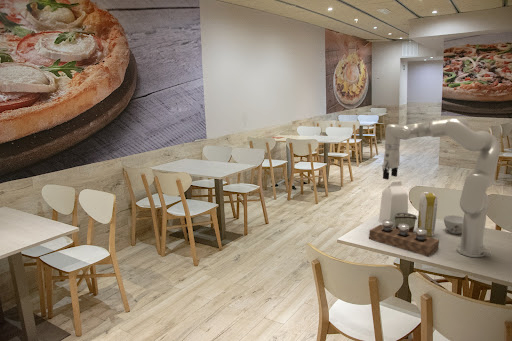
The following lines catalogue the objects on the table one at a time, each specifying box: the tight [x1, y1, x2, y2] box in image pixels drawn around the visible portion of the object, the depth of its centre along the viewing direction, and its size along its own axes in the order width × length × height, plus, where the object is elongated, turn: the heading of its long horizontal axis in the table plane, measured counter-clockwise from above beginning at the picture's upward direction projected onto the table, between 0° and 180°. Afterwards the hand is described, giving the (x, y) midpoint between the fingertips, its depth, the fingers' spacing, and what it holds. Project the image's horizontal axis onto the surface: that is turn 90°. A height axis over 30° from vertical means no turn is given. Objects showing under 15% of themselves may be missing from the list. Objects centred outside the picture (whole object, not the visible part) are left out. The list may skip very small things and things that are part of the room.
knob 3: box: [414, 227, 427, 242], centre depth 203 cm, size 5×5×6 cm
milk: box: [378, 180, 409, 228], centre depth 239 cm, size 12×12×26 cm
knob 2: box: [398, 224, 409, 237], centre depth 210 cm, size 5×5×6 cm
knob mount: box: [368, 224, 440, 257], centre depth 211 cm, size 32×12×5 cm, turn 46°
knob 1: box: [381, 220, 393, 233], centre depth 216 cm, size 5×5×6 cm
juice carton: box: [417, 191, 438, 238], centre depth 222 cm, size 9×8×24 cm
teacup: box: [443, 214, 464, 235], centre depth 225 cm, size 15×12×8 cm
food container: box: [394, 212, 418, 233], centre depth 228 cm, size 12×6×10 cm, turn 84°
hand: (389, 177), depth 224 cm, fingers open, 9 cm apart
